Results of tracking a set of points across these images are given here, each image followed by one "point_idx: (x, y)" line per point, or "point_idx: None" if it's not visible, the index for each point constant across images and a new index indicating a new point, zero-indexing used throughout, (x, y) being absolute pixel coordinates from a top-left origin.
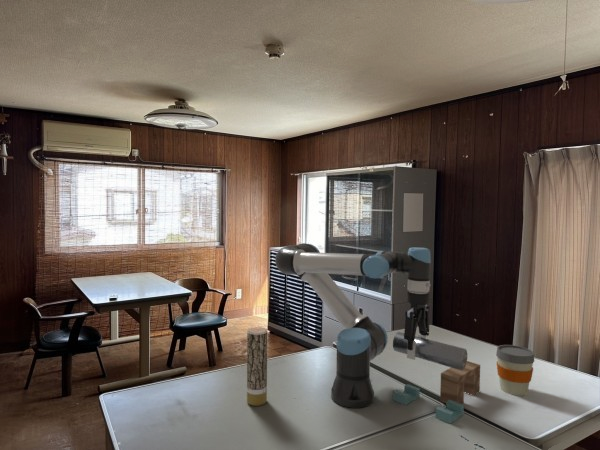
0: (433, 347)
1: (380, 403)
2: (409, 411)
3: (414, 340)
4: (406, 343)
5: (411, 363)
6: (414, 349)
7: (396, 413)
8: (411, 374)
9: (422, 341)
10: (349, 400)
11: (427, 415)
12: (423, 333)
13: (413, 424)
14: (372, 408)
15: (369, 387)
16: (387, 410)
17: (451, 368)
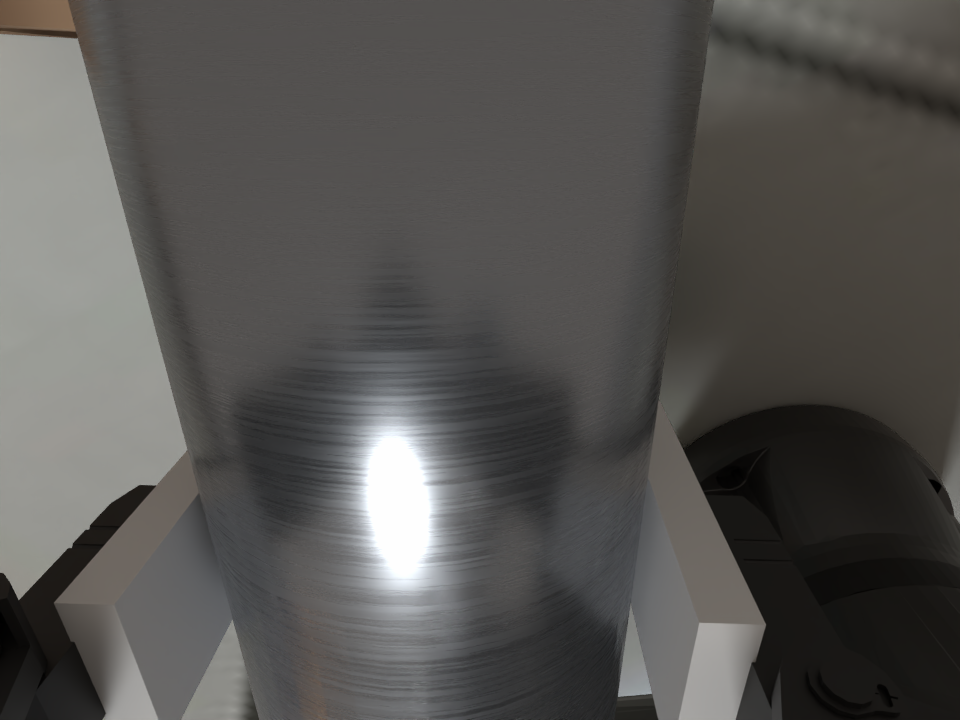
0: (671, 21)
1: (744, 372)
2: (738, 164)
3: (570, 651)
4: (615, 678)
5: (22, 512)
6: (692, 472)
7: (826, 221)
8: (173, 435)
9: (546, 491)
10: (950, 503)
11: (718, 15)
12: (40, 707)
13: (935, 30)
14: (845, 374)
15: (843, 490)
16: (817, 290)
17: (64, 4)
